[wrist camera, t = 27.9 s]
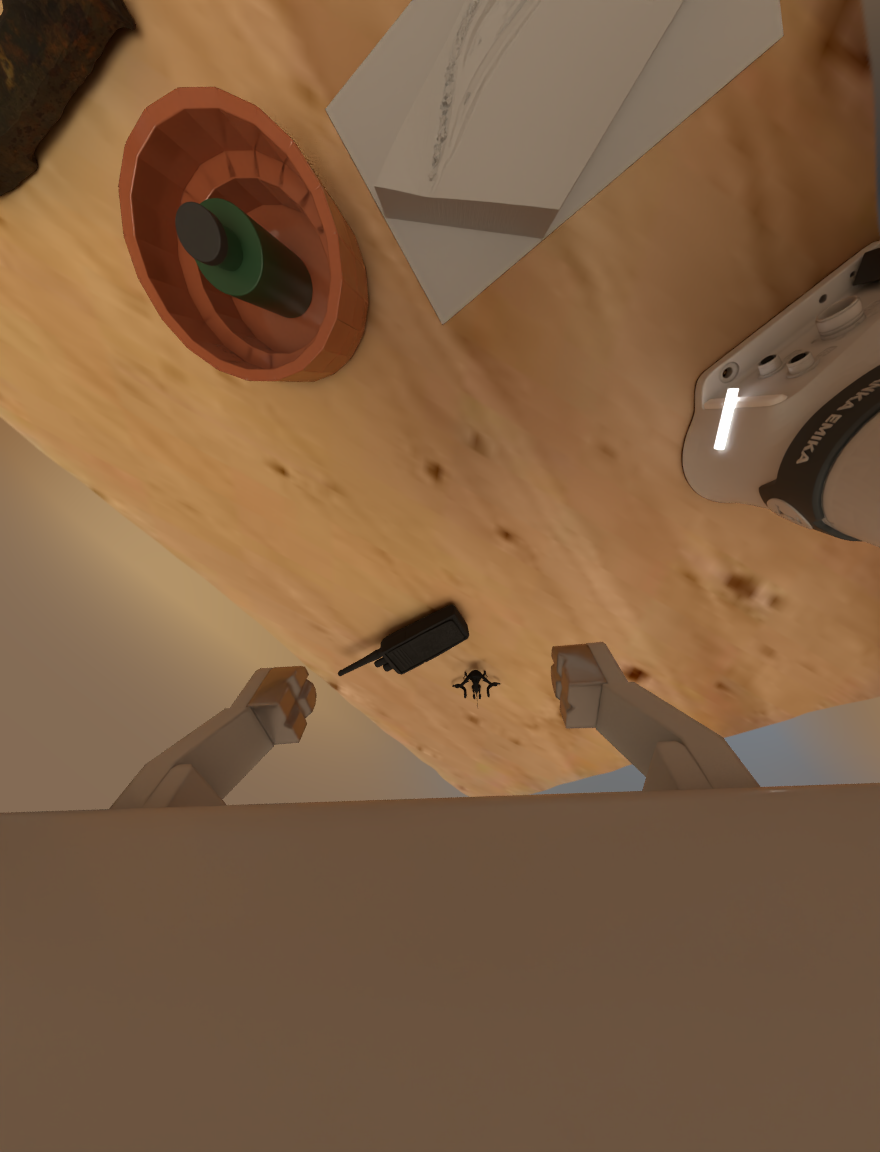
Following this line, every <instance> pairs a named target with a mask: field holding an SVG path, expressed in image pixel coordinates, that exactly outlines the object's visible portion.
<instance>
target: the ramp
mask: <svg viewBox="0 0 880 1152" xmlns="http://www.w3.org/2000/svg"><path fill="white" fill-rule="evenodd" d="M783 36H784V35H783V26H782V17H781V8H780V0H412V1H411V2H410V4H409V5H408V6H407V7H406V9H405V10H404V11H403V13H402V14H401V15H400V16H399V18H398V19H397V20H396V21H395V23H394V24H393V25H392V26H391V28H390V29H389V30H388V31H387V33H386V34H385V35H384V36H383V38H382V39H381V40H380V41H379V43H378V44H377V45H376V46H375V48H374V49H373V50H372V51H371V53H370V54H369V55H368V56H367V58H366V59H365V60H364V61H363V63H362V64H361V65H360V66H359V68H358V69H357V70H356V71H355V73H354V74H353V75H352V76H351V78H350V79H349V80H348V81H347V83H346V84H345V85H344V86H343V88H342V89H341V90H340V91H339V93H338V94H337V95H336V96H335V98H334V99H333V100H332V101H331V103H330V104H329V105H328V106H327V108H326V109H325V110H326V112H327V114H328V115H329V117H330V119H331V121H332V123H333V125H334V127H335V128H336V130H337V132H338V134H339V136H340V138H341V139H342V141H343V143H344V145H345V147H346V149H347V150H348V152H349V154H350V156H351V158H352V160H353V161H354V163H355V165H356V167H357V169H358V171H359V172H360V174H361V176H362V178H363V180H364V182H365V183H366V185H367V187H368V189H369V191H370V193H371V194H372V196H373V198H374V200H375V202H376V204H377V205H378V207H379V209H380V211H381V213H382V215H383V216H384V218H385V220H386V222H387V224H388V226H389V227H390V229H391V231H392V233H393V235H394V237H395V238H396V240H397V242H398V244H399V246H400V248H401V249H402V251H403V253H404V255H405V257H406V259H407V260H408V262H409V264H410V266H411V268H412V270H413V271H414V273H415V275H416V277H417V279H418V281H419V282H420V284H421V286H422V288H423V290H424V292H425V294H426V295H427V297H428V299H429V301H430V303H431V305H432V306H433V308H434V310H435V312H436V314H437V316H438V317H439V319H440V321H441V323H442V325H443V324H444V323H446V322H447V321H448V320H449V319H450V318H451V317H453V316H454V315H455V314H456V313H457V312H459V311H460V310H461V309H462V308H463V307H464V306H466V305H467V304H468V303H469V302H470V301H472V300H473V299H474V298H475V297H476V296H477V295H479V294H480V293H481V292H482V291H483V290H485V289H486V288H487V287H488V286H489V285H490V284H492V283H493V282H494V281H495V280H496V279H497V278H499V277H500V276H501V275H502V274H503V273H505V272H506V271H507V270H508V269H509V268H510V267H512V266H513V265H514V264H515V263H516V262H518V261H519V260H520V259H521V258H522V257H523V256H525V255H526V254H527V253H528V252H529V251H531V250H532V249H533V248H534V247H535V246H536V245H538V244H539V243H540V242H541V241H542V240H543V239H545V238H546V237H547V236H548V235H549V234H551V233H552V232H553V231H554V230H555V229H556V228H558V227H559V226H560V225H561V224H562V223H564V222H565V221H566V220H567V219H568V218H569V217H571V216H572V215H573V214H574V213H575V212H576V211H578V210H579V209H580V208H581V207H582V206H584V205H585V204H586V203H587V202H588V201H589V200H591V199H592V198H593V197H594V196H595V195H597V194H598V193H599V192H600V191H601V190H602V189H604V188H605V187H606V186H607V185H608V184H610V183H611V182H612V181H613V180H614V179H615V178H617V177H618V176H619V175H620V174H621V173H622V172H624V171H625V170H626V169H627V168H628V167H630V166H631V165H632V164H633V163H634V162H635V161H637V160H638V159H639V158H640V157H641V156H643V155H644V154H645V153H646V152H647V151H648V150H650V149H651V148H652V147H653V146H654V145H656V144H657V143H658V142H659V141H660V140H661V139H663V138H664V137H665V136H666V135H667V134H668V133H670V132H671V131H672V130H673V129H674V128H676V127H677V126H678V125H679V124H680V123H681V122H683V121H684V120H685V119H686V118H687V117H689V116H690V115H691V114H692V113H693V112H694V111H696V110H697V109H698V108H699V107H700V106H702V105H703V104H704V103H705V102H706V101H707V100H709V99H710V98H711V97H712V96H713V95H714V94H716V93H717V92H718V91H719V90H720V89H722V88H723V87H724V86H725V85H726V84H727V83H729V82H730V81H731V80H732V79H733V78H735V77H736V76H737V75H738V74H739V73H740V72H742V71H743V70H744V69H745V68H746V67H748V66H749V65H750V64H751V63H752V62H753V61H755V60H756V59H757V58H758V57H759V56H760V55H762V54H763V53H764V52H765V51H766V50H768V49H769V48H770V47H771V46H772V45H773V44H775V43H776V42H777V41H778V40H779V39H781V38H782V37H783Z"/></svg>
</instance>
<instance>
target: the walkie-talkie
mask: <svg viewBox="0 0 880 1152" xmlns="http://www.w3.org/2000/svg"><path fill="white" fill-rule="evenodd" d="M468 637H469V631H468V626H467V624H466V622H465V621H464V619H463V618H462V616H461V615H460V613H459V612H458V610H457V609H456V607H455V606H454V605H453V604H451V605H449V606H447V607H445V608H443V609H441V610H439V611H436V612H434V613H432V614H430V615H428V616H426V617H424V618H422V619H420V620H418V621H416V622H414V623H412V624H411V625H409V626H406V627H404V628H402V629H400V630H398V631H396V632H394V633H392V634H391V635H389V636H387V637H386V638H384V639H383V640H382V642H381V648H380V649H379V650H375V651H374V652H372V653H371V654H369V655H367V656H366V657H364V658H362V659H361V660H359V661H357V662H355V663H353V664H351V665H350V666H348V667H346V668H344V669H343V670H340V671H339V672H338V675H339V676H342V675H344V674H346V673H348V672H350V671H352V670H354V669H356V668H359V667H361V666H363V665H365V664H367V663H370V662H372V661H374V660H377V659H379V658H381V657H382V656H383V658H381V659H379V660H377V661H375V662H374V664H375V666H376V667H380V666H382V665H383V668H384V670H385V671H389V670H391V669H394V670H395V671H396V672H397V673H398V674H404V673H406V672H408V671H410V670H412V669H414V668H416V667H418V666H419V665H421V664H423V663H424V662H427V661H429V660H431V659H433V658H435V657H437V656H439V655H440V654H442V653H444V652H445V651H447V650H449V649H451V648H452V647H454V646H456V645H457V644H459V643H461V642H463V641H464V640H466V639H468Z"/></svg>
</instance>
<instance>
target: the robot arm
mask: <svg viewBox="0 0 880 1152" xmlns="http://www.w3.org/2000/svg"><path fill="white" fill-rule="evenodd" d="M725 369H727V374H726V375H725V376H724V377H723V375H722V374H723V371H724V370H725ZM682 460H683V469H684V473H685V476H686V479H687V481H688V483H689V484H690V486H691V487H692V488H693V489H694V491H696V492H697V493H698V494H699V495H701V496H702V497H704V498H706V499H709V500H711V501H715V502H721V503H741V504H748V505H754V506H758V507H763V508H767V509H770V510H772V511H773V512H774V513H776V514H777V515H779V516H781V517H783V518H785V519H787V520H789V521H791V522H794V523H796V524H798V525H801V526H803V527H806V528H808V529H815V530H817V531H820V532H823V533H826V534H829V535H831V536H834V537H837V538H840V539H844V540H849V541H864V542H867V543H869V544H872V545H875V546H877V547H880V241H877V242H873V243H871V244H869V245H868V246H866V247H865V248H863V249H862V250H861V251H859V252H858V253H857V254H856V255H854V256H853V257H852V258H850V259H849V260H848V261H846V262H845V263H844V264H843V265H841V266H840V267H839V268H837V269H836V270H835V271H833V272H832V273H831V274H830V275H828V276H827V277H826V278H824V279H823V280H822V281H821V282H819V283H818V284H817V285H815V286H814V287H813V288H812V289H810V290H809V291H808V292H806V293H805V294H804V295H803V296H801V297H800V298H799V299H797V300H796V301H795V302H793V303H792V304H791V305H790V306H788V307H787V308H786V309H784V310H783V311H782V312H781V313H779V314H778V315H777V316H775V317H774V318H773V319H772V320H770V321H769V322H768V323H766V324H765V325H764V326H763V327H761V328H760V329H759V330H757V331H756V332H755V333H753V334H752V335H751V336H750V337H748V338H747V339H746V340H744V341H743V342H742V343H741V344H739V345H738V346H737V347H735V348H734V349H733V350H732V351H730V352H729V353H728V354H726V355H725V356H724V357H723V358H721V359H720V360H719V361H717V362H716V363H715V364H713V365H712V366H711V367H710V368H708V369H707V370H706V371H705V372H704V373H703V374H702V375H701V376H700V377H699V379H698V381H697V384H696V389H695V413H694V416H693V419H692V422H691V425H690V427H689V430H688V432H687V435H686V439H685V443H684V448H683V459H682ZM551 656H552V659H553V662H554V664H553V665H552V666H551V679H552V685H553V690H554V693H555V696H556V697H557V698H558V699H559V700H560V712H561V715H562V718H563V721H564V723H565V726H566V728H596V730H598V731H599V732H600V733H601V734H602V735H603V736H604V737H605V738H606V739H607V740H608V741H609V742H610V743H611V744H612V745H613V746H614V747H615V748H616V749H617V750H618V751H619V752H620V753H622V754H623V755H624V756H625V757H626V758H627V759H628V760H629V761H630V762H631V763H632V764H633V765H634V766H635V767H636V768H637V769H638V770H639V771H640V772H641V773H642V774H644V775H645V777H646V780H645V783H644V787H643V790H642V791H630V792H601V793H573V794H544V795H543V794H542V795H513V796H484V797H459V798H458V797H457V798H427V799H398V800H368V801H342V802H339V801H338V802H312V803H311V802H308V803H279V804H249V805H226V804H225V802H224V801H223V800H222V799H223V798H224V797H225V796H226V795H227V794H228V793H229V792H230V791H231V790H232V789H233V788H234V787H235V786H236V785H237V784H238V783H239V782H240V781H241V780H242V779H243V778H244V777H245V776H246V774H247V773H248V772H249V771H250V770H251V769H252V768H253V767H254V766H255V765H256V764H257V763H258V762H259V761H260V760H261V759H262V758H263V757H264V756H265V755H266V754H267V753H268V752H269V751H270V750H271V749H272V747H274V745H275V744H286V743H299V741H300V739H301V737H302V734H303V732H304V730H305V728H306V725H307V722H306V719H305V718H306V717H307V716H308V715H309V714H311V713H312V711H313V709H314V706H315V703H316V689H315V687H314V685H313V683H311V682H310V681H309V680H307V677H308V675H309V674H308V672H307V670H306V668H305V667H303V666H292V667H275V668H260V669H259V670H257V671H255V673H254V674H253V676H252V677H251V679H250V680H249V682H248V683H247V684H246V686H245V687H244V689H243V690H242V691H241V693H240V694H239V696H238V697H237V699H236V700H235V701H234V703H233V704H232V706H231V707H230V708H227V709H224V710H222V711H221V712H220V713H218V714H217V715H216V716H214V717H212V718H211V719H210V720H208V721H207V722H205V723H204V724H203V725H201V726H200V727H198V728H197V729H195V730H194V731H192V732H191V733H190V734H188V735H187V736H186V737H184V738H183V739H181V740H180V741H178V742H177V743H175V744H174V745H172V746H171V747H170V748H169V749H167V750H165V751H164V752H163V753H161V754H160V755H158V756H157V757H155V758H154V759H152V760H151V761H150V762H148V763H147V764H146V765H144V767H143V768H142V769H141V770H140V772H139V773H138V774H137V775H136V776H135V778H134V779H133V780H132V781H131V783H130V784H129V785H128V786H127V787H126V789H125V790H124V791H123V792H122V794H121V795H120V796H119V797H118V799H117V800H116V801H115V802H114V804H113V805H112V806H111V807H110V808H109V809H100V810H73V811H72V810H70V811H42V812H11V813H0V1152H880V783H865V784H836V785H808V786H778V787H760V786H759V784H758V783H757V782H756V780H755V779H754V778H753V776H752V775H751V774H750V772H749V771H748V770H747V769H746V767H745V766H744V765H743V763H742V762H741V761H740V759H739V758H738V757H737V755H736V754H735V753H734V751H733V750H732V749H731V748H730V746H729V745H728V743H727V742H726V741H725V739H724V738H723V737H721V736H720V735H718V734H717V733H715V732H713V731H712V730H710V729H709V728H707V727H705V726H704V725H702V724H701V723H699V722H697V721H696V720H694V719H693V718H691V717H689V716H688V715H686V714H684V713H683V712H681V711H680V710H678V709H676V708H675V707H673V706H672V705H670V704H668V703H667V702H665V701H664V700H662V699H660V698H659V697H657V696H655V695H654V694H652V693H651V692H649V691H647V690H646V689H644V688H643V687H641V686H639V685H638V684H636V683H635V682H628V681H627V679H626V678H625V676H624V674H623V672H622V671H621V669H620V667H619V666H618V664H617V662H616V661H615V659H614V657H613V656H612V654H611V652H610V651H609V649H608V647H607V646H606V644H605V643H603V642H596V643H586V644H576V645H564V646H553V647H552V654H551Z"/></svg>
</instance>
